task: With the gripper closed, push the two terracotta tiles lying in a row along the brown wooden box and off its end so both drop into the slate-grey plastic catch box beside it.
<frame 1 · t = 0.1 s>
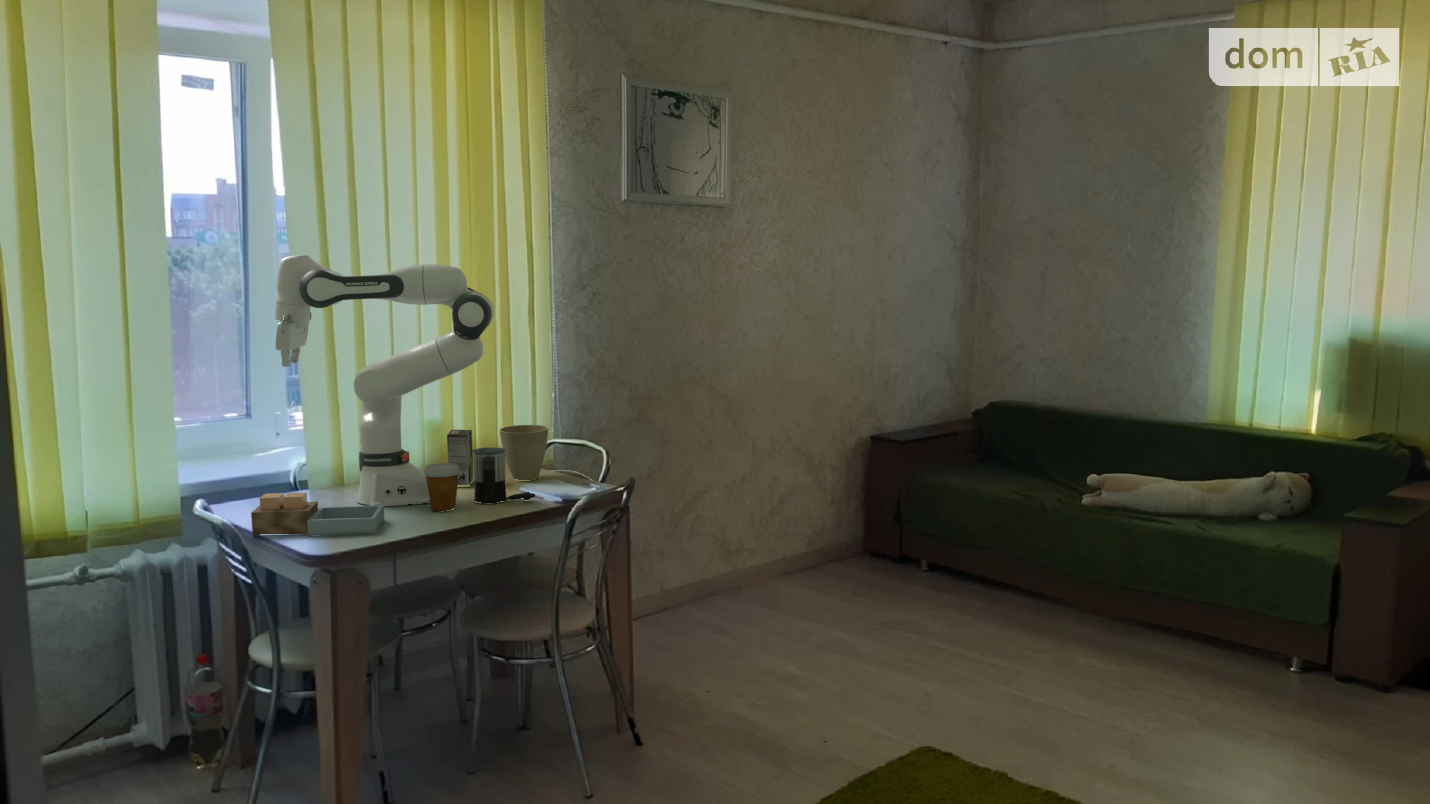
hand: (290, 364, 291), 39 cm above the table, tool pointing down, fingers open, 8 cm apart
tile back: (272, 507, 266), point 6 cm above the table, touching brown wooden box
coffee box: (461, 485, 321), on the table
milk frother: (504, 502, 298), on the table
disposable coffee cup: (443, 510, 289), on the table
tile front: (295, 506, 266), point 6 cm above the table, touching brown wooden box
catch box: (347, 528, 269), on the table
brown wooden box: (286, 530, 267), on the table
plant pot: (525, 480, 328), on the table
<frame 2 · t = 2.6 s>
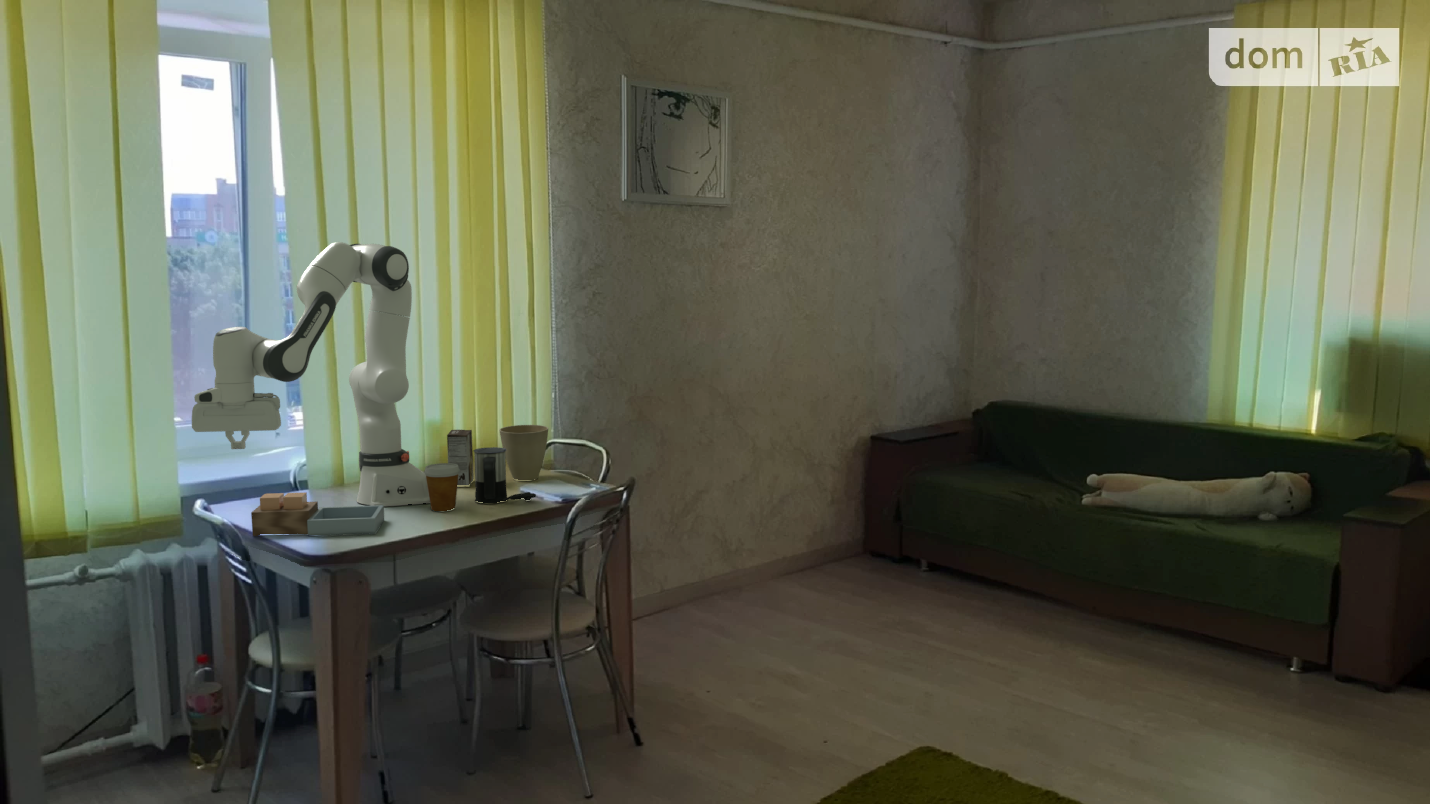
hand: (238, 448, 263), 21 cm above the table, tool pointing down, fingers closed
nothing on the table moved.
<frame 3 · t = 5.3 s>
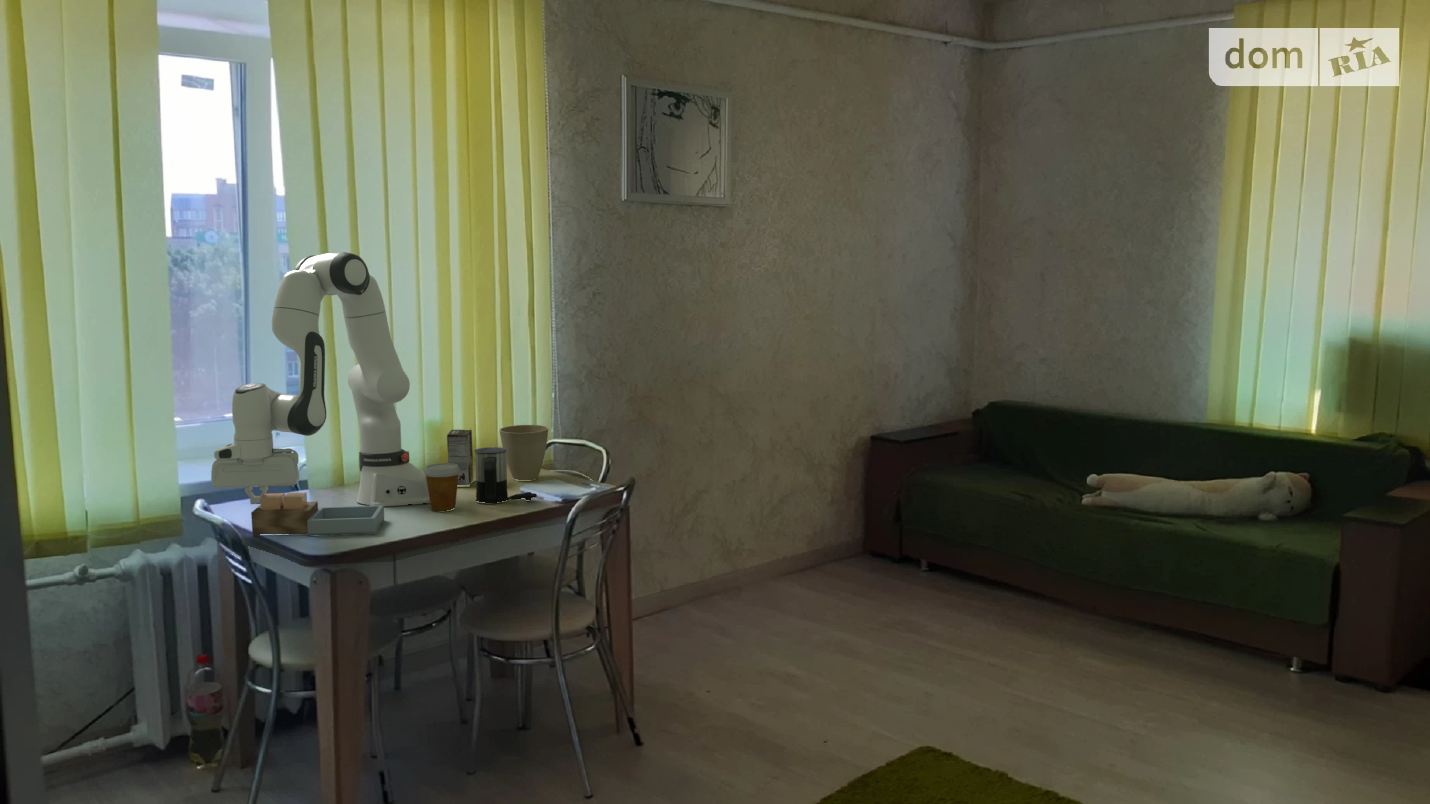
hand: (257, 503, 265), 7 cm above the table, tool pointing down, fingers closed
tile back: (273, 507, 266), point 6 cm above the table, touching brown wooden box, gripper
everything else where it was.
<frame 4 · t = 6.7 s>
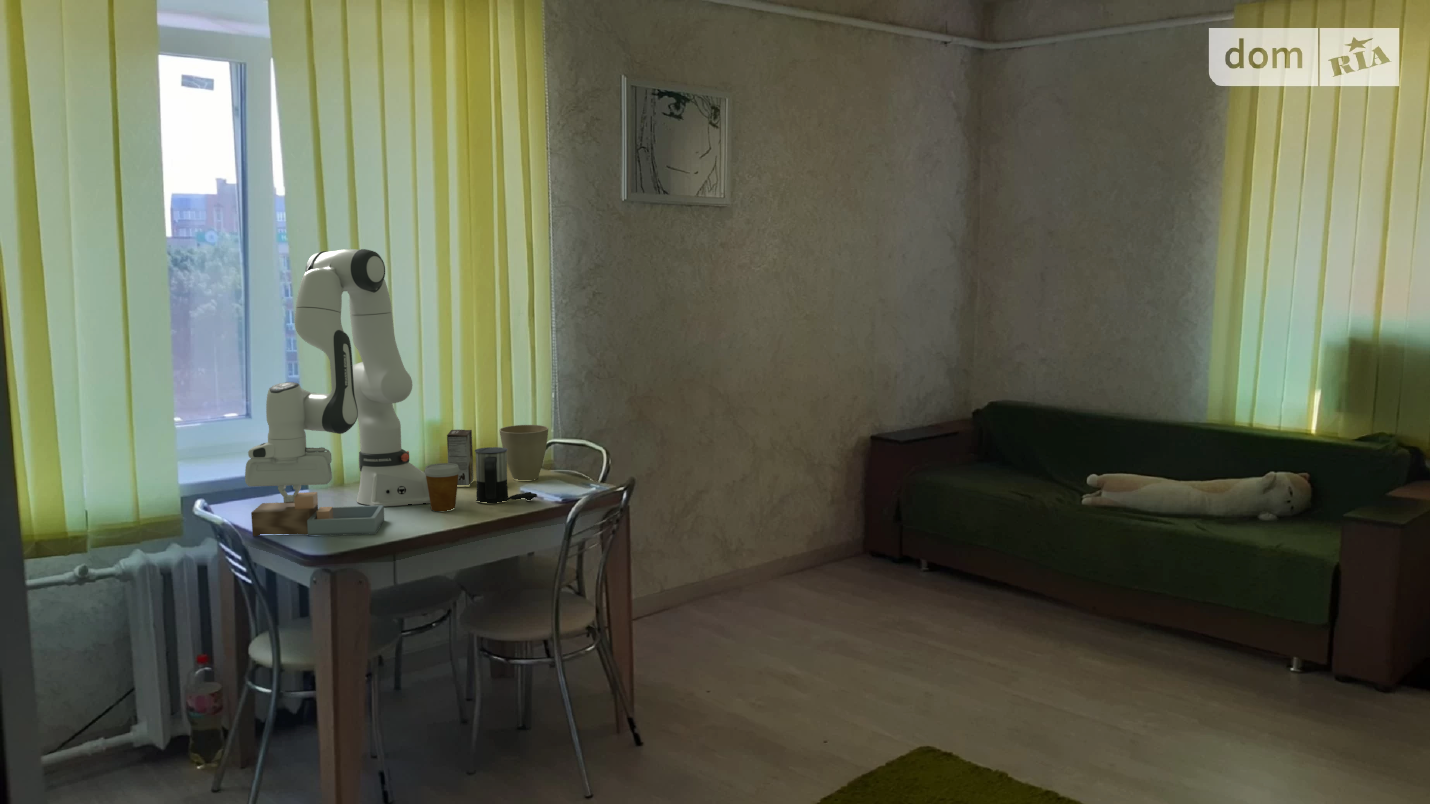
hand: (290, 502, 266), 7 cm above the table, tool pointing down, fingers closed
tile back: (306, 506, 267), point 6 cm above the table, touching brown wooden box, gripper
tile front: (318, 518, 268), point 3 cm above the table, tilted 90°, touching catch box
everything else where it was.
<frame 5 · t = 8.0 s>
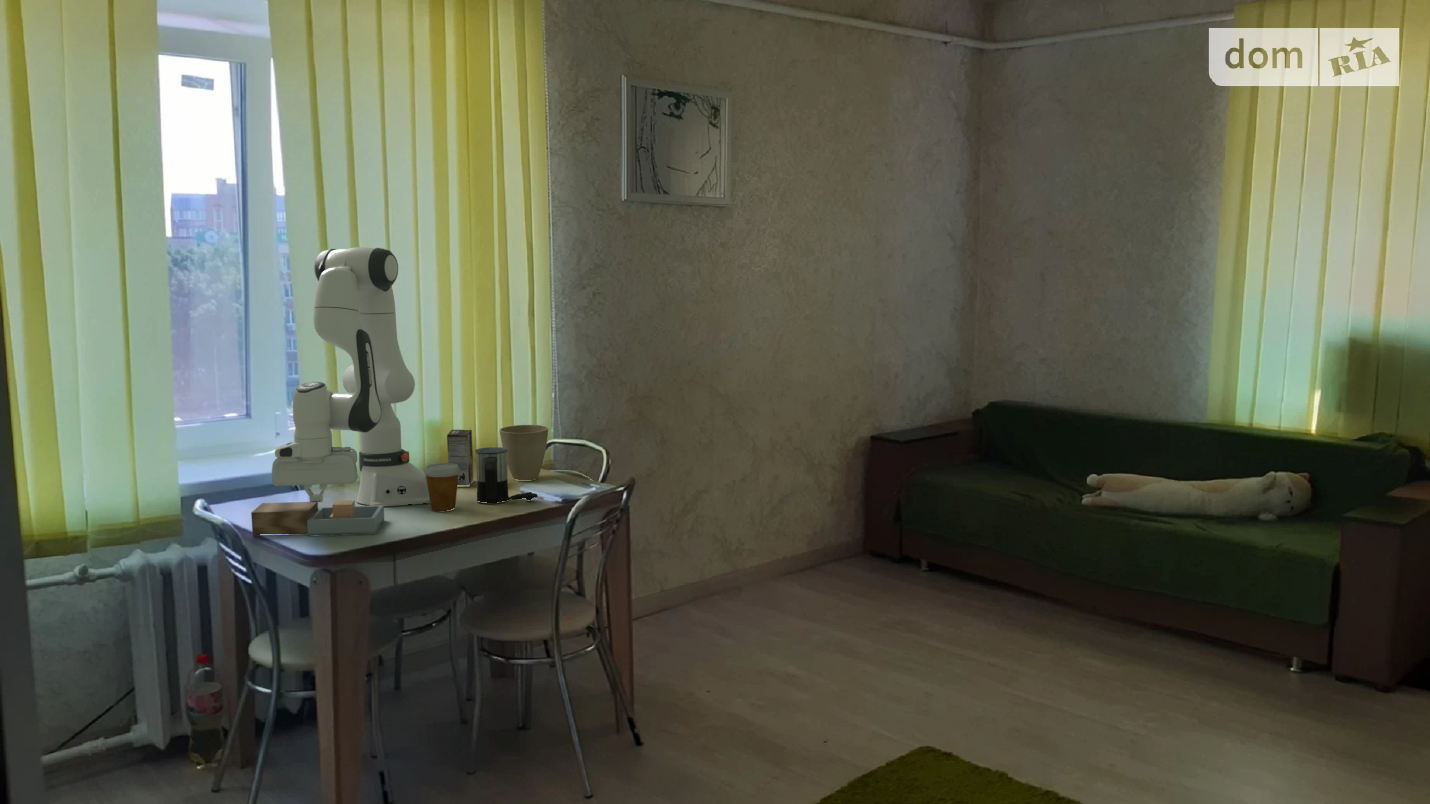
hand: (316, 501, 267), 7 cm above the table, tool pointing down, fingers closed
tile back: (344, 514, 268), point 4 cm above the table, touching tile front
tile front: (340, 514, 268), point 4 cm above the table, tilted 180°, touching catch box, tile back
everything else where it was.
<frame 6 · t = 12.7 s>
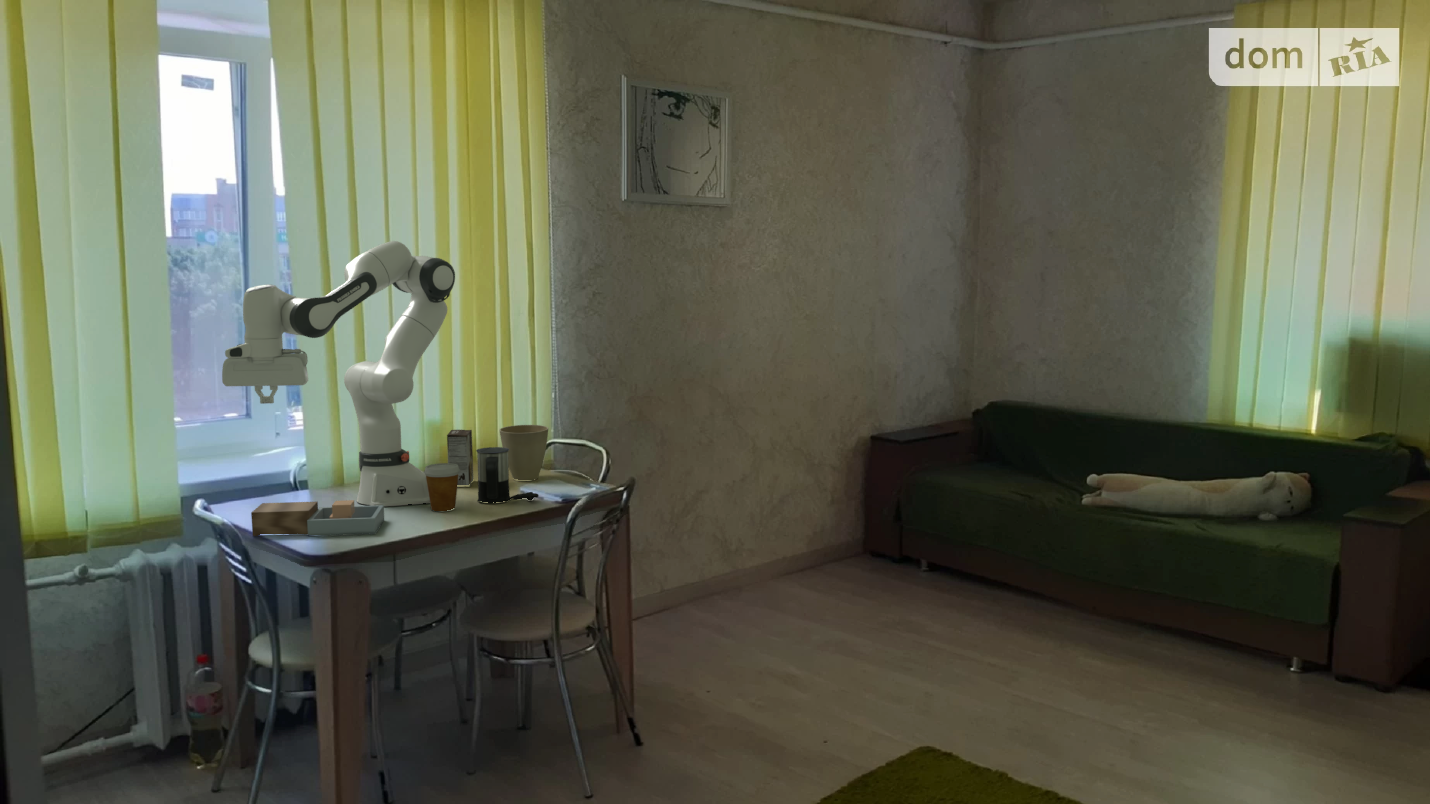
hand: (267, 403, 271), 31 cm above the table, tool pointing down, fingers closed
nothing on the table moved.
at the end: tile front inside the target area (1.5 cm from its centre), point 3.6 cm above the table; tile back inside the target area (0.7 cm from its centre), point 3.6 cm above the table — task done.
